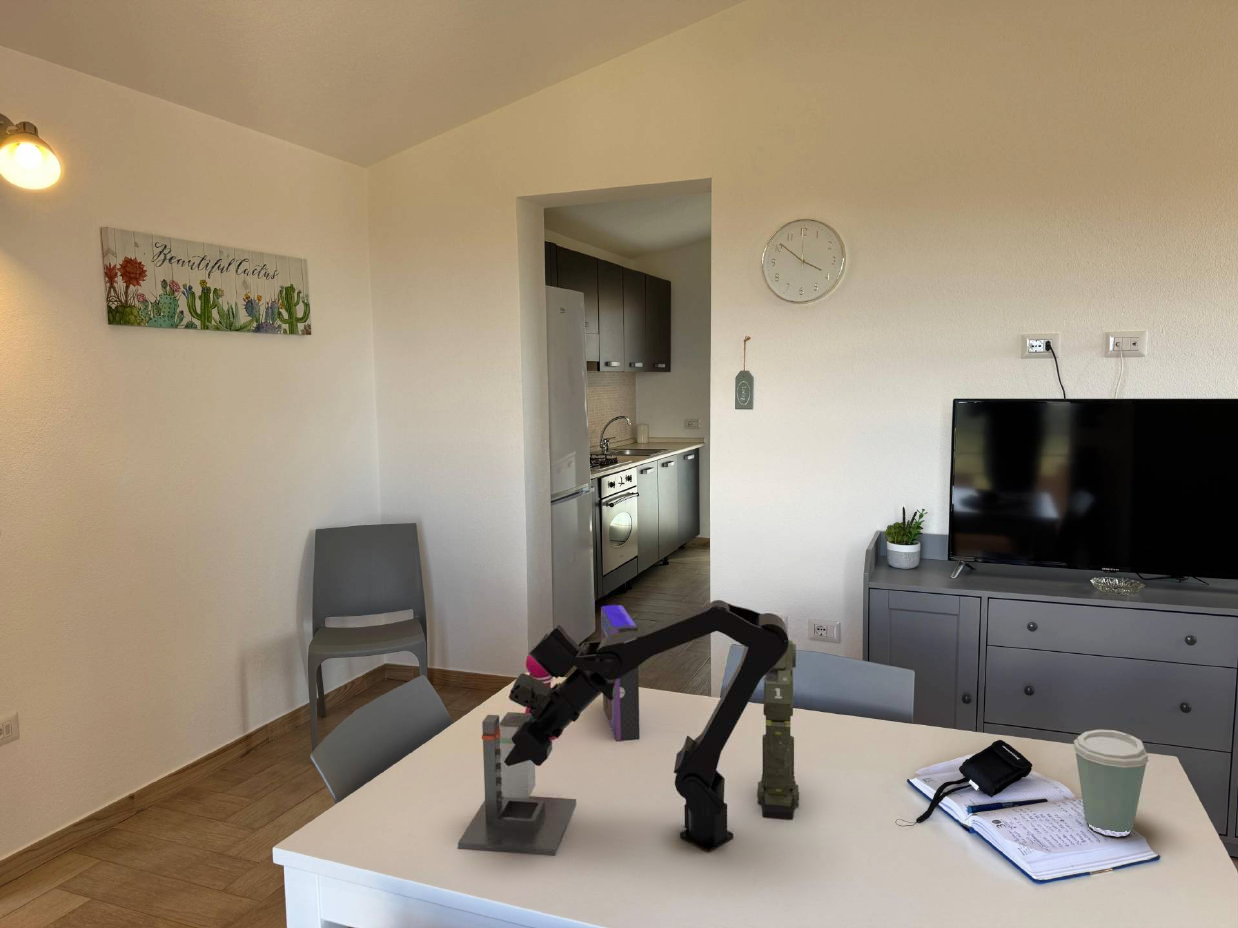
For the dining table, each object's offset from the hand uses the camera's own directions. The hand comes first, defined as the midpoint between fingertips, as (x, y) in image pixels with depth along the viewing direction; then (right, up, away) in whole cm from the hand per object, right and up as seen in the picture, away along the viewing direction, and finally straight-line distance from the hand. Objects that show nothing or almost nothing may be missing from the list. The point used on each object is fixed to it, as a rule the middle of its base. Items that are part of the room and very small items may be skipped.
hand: (510, 756), depth 140 cm
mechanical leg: (+46, -11, +8) cm, 48 cm away
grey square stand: (+2, -12, +1) cm, 12 cm away
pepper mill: (+2, -8, +36) cm, 37 cm away
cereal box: (+19, -8, +42) cm, 46 cm away
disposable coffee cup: (+98, -11, -3) cm, 99 cm away
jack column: (+1, -6, 0) cm, 6 cm away
